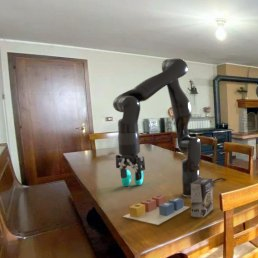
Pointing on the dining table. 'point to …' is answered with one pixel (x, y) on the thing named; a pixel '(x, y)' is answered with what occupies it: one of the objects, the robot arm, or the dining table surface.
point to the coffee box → (201, 197)
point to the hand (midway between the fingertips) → (131, 178)
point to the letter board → (156, 216)
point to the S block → (137, 210)
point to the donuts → (127, 180)
